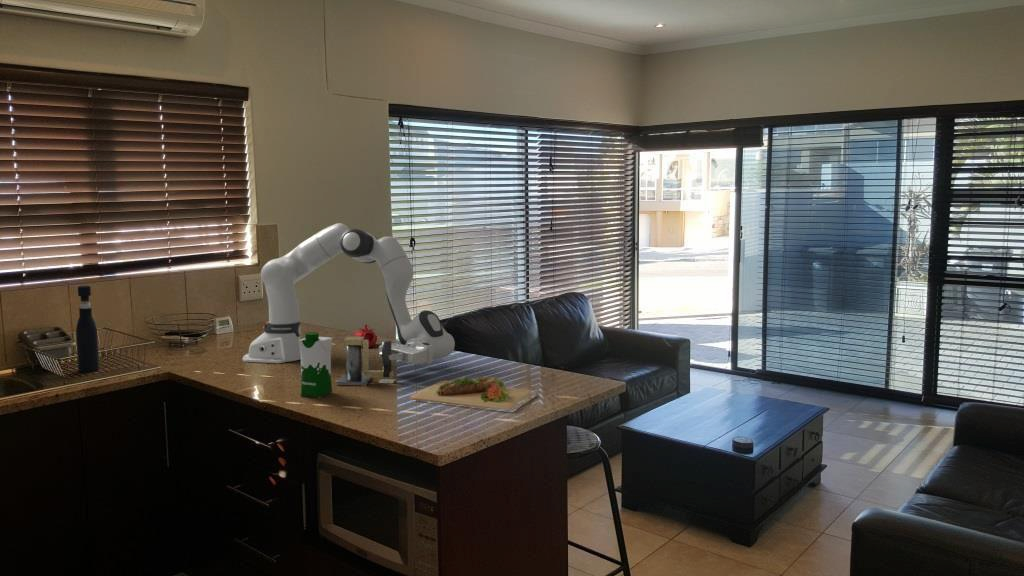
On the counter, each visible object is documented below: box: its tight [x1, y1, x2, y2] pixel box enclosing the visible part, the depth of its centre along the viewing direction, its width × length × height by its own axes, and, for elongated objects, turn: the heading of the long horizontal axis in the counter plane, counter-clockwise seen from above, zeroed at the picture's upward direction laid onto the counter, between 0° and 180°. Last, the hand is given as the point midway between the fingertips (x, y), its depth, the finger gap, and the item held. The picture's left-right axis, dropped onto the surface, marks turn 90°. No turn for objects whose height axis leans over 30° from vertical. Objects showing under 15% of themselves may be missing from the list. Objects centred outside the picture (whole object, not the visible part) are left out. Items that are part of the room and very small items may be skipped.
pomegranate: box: [353, 324, 378, 348], centre depth 313 cm, size 10×10×9 cm
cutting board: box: [409, 375, 533, 409], centre depth 236 cm, size 35×23×8 cm
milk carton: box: [299, 331, 333, 398], centre depth 236 cm, size 9×9×20 cm
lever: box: [343, 336, 394, 378], centre depth 253 cm, size 16×6×13 cm, turn 92°
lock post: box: [336, 345, 396, 386], centre depth 257 cm, size 18×18×13 cm
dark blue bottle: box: [75, 285, 100, 373], centre depth 263 cm, size 6×6×30 cm
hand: (384, 356), depth 253 cm, fingers closed on lever, 3 cm apart
